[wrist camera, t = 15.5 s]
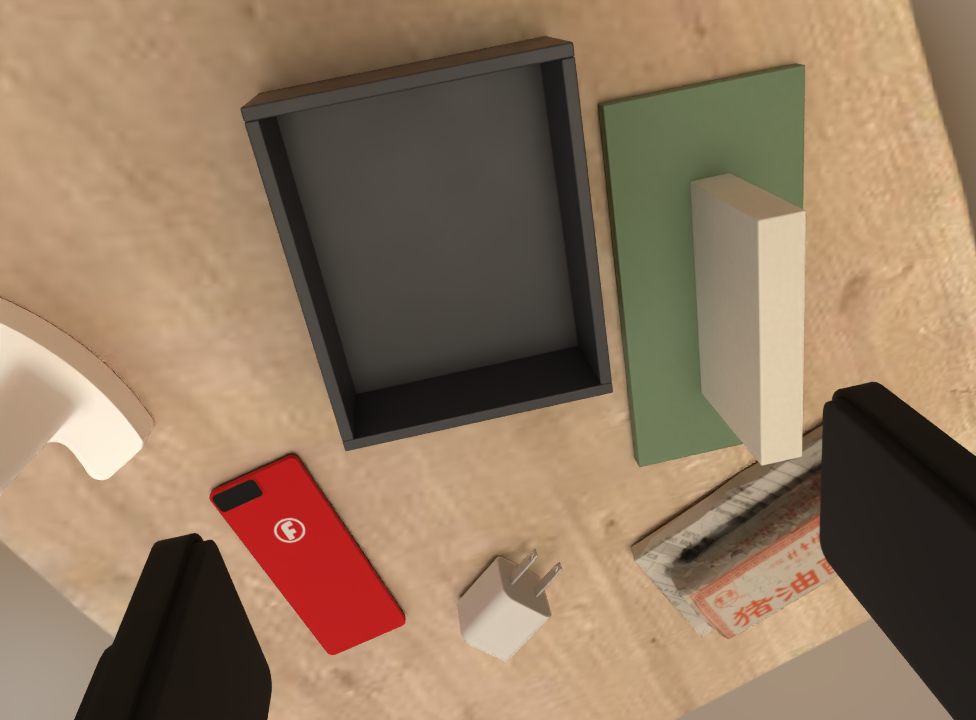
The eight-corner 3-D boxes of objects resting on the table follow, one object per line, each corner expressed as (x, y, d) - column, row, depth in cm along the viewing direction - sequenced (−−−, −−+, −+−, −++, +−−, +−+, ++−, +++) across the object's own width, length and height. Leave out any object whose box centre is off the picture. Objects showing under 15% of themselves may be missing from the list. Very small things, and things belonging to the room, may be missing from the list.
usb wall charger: (456, 596, 51) (462, 641, 48) (519, 526, 49) (530, 567, 46) (502, 619, 53) (511, 664, 49) (565, 551, 51) (579, 593, 47)
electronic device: (407, 618, 51) (295, 451, 45) (408, 624, 51) (294, 456, 44) (330, 651, 52) (207, 490, 45) (330, 657, 51) (205, 496, 45)
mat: (597, 103, 39) (603, 106, 38) (795, 63, 39) (805, 64, 38) (634, 458, 48) (639, 467, 47) (792, 423, 49) (800, 431, 48)
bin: (258, 93, 36) (239, 107, 31) (546, 35, 37) (573, 41, 32) (348, 400, 44) (345, 451, 39) (586, 349, 44) (613, 392, 40)
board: (689, 180, 40) (758, 220, 33) (729, 172, 40) (806, 210, 33) (700, 393, 46) (761, 466, 38) (736, 385, 46) (802, 457, 39)
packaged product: (906, 431, 44) (961, 534, 48) (858, 393, 48) (912, 490, 53) (648, 595, 47) (721, 679, 51) (625, 545, 51) (694, 626, 55)
